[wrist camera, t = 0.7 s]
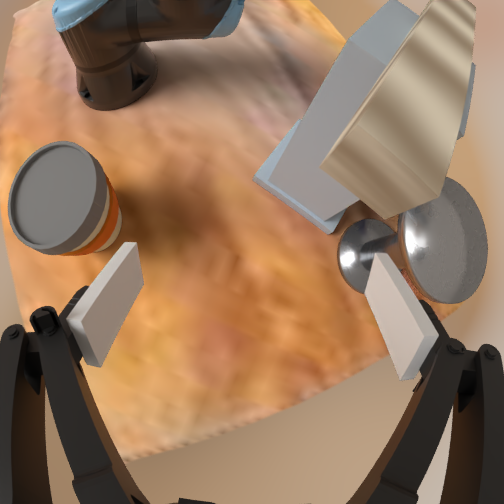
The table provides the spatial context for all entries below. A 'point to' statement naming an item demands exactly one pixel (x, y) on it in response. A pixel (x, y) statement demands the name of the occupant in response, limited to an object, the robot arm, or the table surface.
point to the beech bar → (410, 115)
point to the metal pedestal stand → (423, 246)
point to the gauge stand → (337, 120)
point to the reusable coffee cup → (63, 202)
